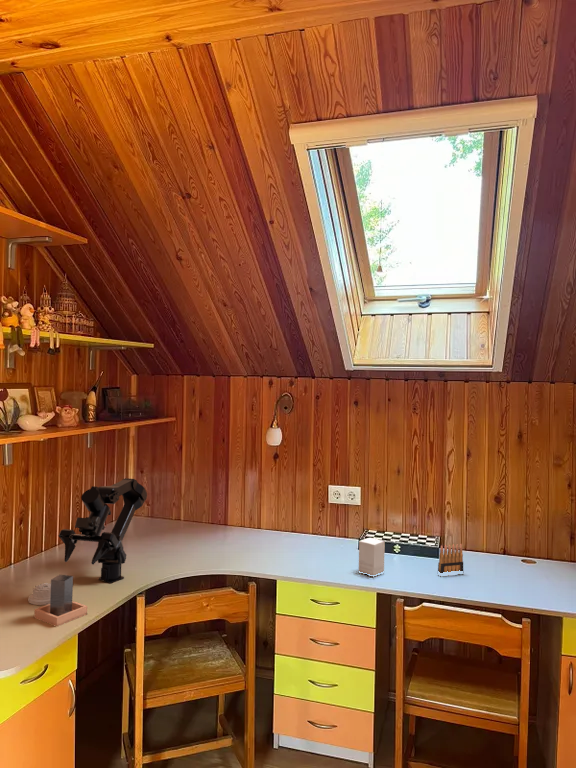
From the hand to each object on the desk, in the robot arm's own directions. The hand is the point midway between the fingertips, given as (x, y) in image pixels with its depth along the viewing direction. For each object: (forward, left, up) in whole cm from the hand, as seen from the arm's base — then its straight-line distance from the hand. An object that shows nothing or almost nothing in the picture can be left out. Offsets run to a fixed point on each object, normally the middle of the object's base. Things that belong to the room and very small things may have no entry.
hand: (78, 562), depth 177 cm
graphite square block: (+9, +3, -13) cm, 16 cm away
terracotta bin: (+9, +3, -13) cm, 16 cm away
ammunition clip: (-101, +91, -14) cm, 137 cm away
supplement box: (-84, +65, -14) cm, 107 cm away
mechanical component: (+3, -12, -14) cm, 18 cm away
